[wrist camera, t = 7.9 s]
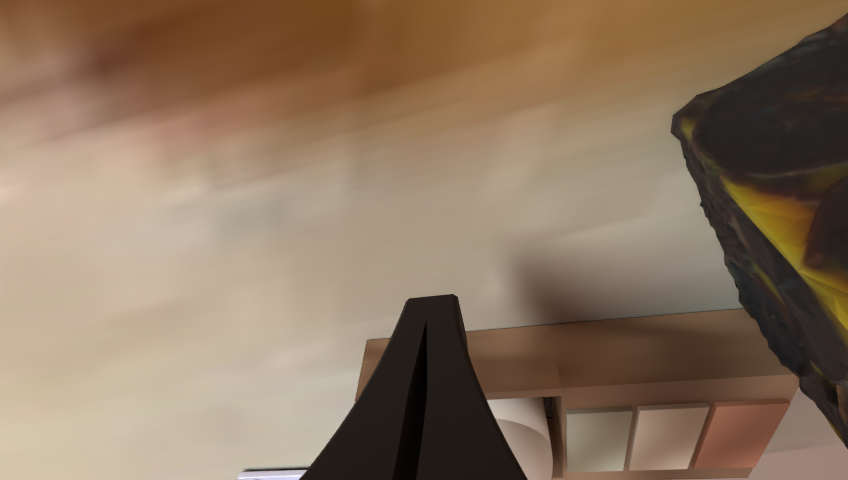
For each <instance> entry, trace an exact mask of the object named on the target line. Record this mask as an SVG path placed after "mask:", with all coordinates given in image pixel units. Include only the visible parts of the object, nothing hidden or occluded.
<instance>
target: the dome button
mask: <svg viewBox="0 0 848 480" xmlns="http://www.w3.org/2000/svg"><path fill="white" fill-rule="evenodd" d="M487 402H488V404H489V406H490V409H491V411H492V413H493V415H494V417H495V419H496V421H497V423H498V425H499V427H500V429H501V431H502V433H503V435H504V437H505V439H506V441H507V443H508V445H509V447H510V448H511V450H512V452H513V454H514V456H515V457H516V459H517V461H518V463H519V465H520V466H521V468H522V470H523V472H524V474H525V475H526V477H527V479H528V480H551V478H552V470H553V457H552V449H551V443H550V437H549V431H548V425H547V419H546V413H545V406H544V400H543V397H532V398H515V399H497V400H487Z"/></svg>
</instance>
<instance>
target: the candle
mask: <svg viewBox="0 0 848 480" xmlns="http://www.w3.org/2000/svg"><path fill="white" fill-rule="evenodd" d="M671 133H672V134H673V135H674V136H675V137H677V138H678V139H679V140H680V141H681V146H682V151H683V155H684V158H685V159H686V166H687V168H688V170H689V172H690V174H691V176H692V178H693V179H694V181H695V183H696V185H697V187H698V191H699V194H700V196H701V200H702V201H701V203H700V206H701V207H703V209H704V212H705V216H706V217H708V219H709V223H710V226H712V227H713V228H714V229H715V232H716V236H717V238H718V240H719V242H720V244H721V246H722V249H723V251H724V254H725V256H724V261H725V265H726V266H727V267H728V271H729V272H730V274H731V275H732V277H733V278H734V279H735V285H736V287H737V288H738V290H739V302H740V304H741V305H742V306H743V308H744V309H745V310H746V312H747V313H748V314H749V315H750V318H753V319H755V320H756V322H757V324H758V326H759V328H760V331H761V333H762V336H763V337H765V338H766V340H767V341H768V348H769V349H770V350H771V351H772V352H773V353H774V354H775V355H776V356H777V357H778V359H779V361H780V363H781V365H782V366H784V367H786V368H788V369H789V370H790V371H791V372H792V373H793V374H794V375H796V376H797V377H798V378H799V387H800V389H801V391H802V392H803V393H804V394H805V395H806V396H808V397H809V398H810V399H811V400H813V401H814V402H815V403H816V405H817V407H818V408H819V409H820V410H821V412H822V413H823V414H824V415H825V417H826V418H827V420H828V422H829V423H830V425H831V427H832V428H833V430H834V431H835V432H836V434H837V435H838V437H839V438H840V439H841V440H842V441H843V443H844V444H845V446H846V447H847V449H848V13H847V14H846V15H845V16H843V17H842V18H840V19H839V20H838V21H836V22H835V23H833V24H832V25H831V26H829V27H827V28H825V29H823V30H821V31H818V32H816V33H814V34H812V35H809V36H807V37H805V38H804V39H803V40H802V41H800V42H799V43H798V44H797V45H796V46H794V47H792V48H791V49H789V50H787V51H785V52H784V53H782V54H780V55H778V56H777V57H775V58H773V59H771V60H770V61H768V62H766V63H764V64H763V65H761V66H760V67H758V68H757V69H755V70H753V71H751V72H749V73H748V74H746V75H744V76H742V77H740V78H738V79H736V80H734V81H732V82H730V83H729V84H727V85H725V86H723V87H720V88H717V89H714V90H711V91H708V92H705V93H702V94H699V95H697V96H695V97H694V98H693V99H692V100H691V101H690V102H689V103H688V104H687V105H686V106H684V107H683V108H682V109H680V110H679V111H678V112H677V113H675V114H674V115H673V120H672V127H671Z"/></svg>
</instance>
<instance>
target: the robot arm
mask: <svg viewBox="0 0 848 480" xmlns="http://www.w3.org/2000/svg"><path fill="white" fill-rule="evenodd" d="M237 480H528V479H527V477H526V475H525V474H524V472H523V470H522V468H521V466H520V465H519V463H518V461H517V459H516V457H515V456H514V454H513V452H512V450H511V448H510V447H509V445H508V443H507V441H506V439H505V437H504V435H503V433H502V431H501V429H500V427H499V425H498V423H497V421H496V419H495V417H494V415H493V413H492V411H491V409H490V406H489V404H488V402H487V400H486V397H485V395H484V393H483V391H482V388H481V386H480V383H479V381H478V378H477V376H476V373H475V371H474V368H473V365H472V363H471V360H470V357H469V354H468V344H467V337H466V332H465V328H464V323H463V319H462V314H461V310H460V305H459V301H458V297H457V296H455V295H454V294H449V295H439V296H429V297H420V298H410V299H408V300H407V301H406V303H405V306H404V308H403V311H402V313H401V316H400V318H399V321H398V323H397V325H396V327H395V330H394V332H393V334H392V336H391V338H390V340H389V343H388V345H387V347H386V349H385V351H384V353H383V355H382V356H381V358H380V360H379V362H378V364H377V366H376V368H375V370H374V372H373V374H372V375H371V377H370V379H369V381H368V382H367V384H366V386H365V388H364V389H363V391H362V393H361V394H360V396H359V398H358V399H357V401H356V403H355V404H354V406H353V407H352V409H351V410H350V412H349V414H348V415H347V417H346V418H345V420H344V421H343V422H342V424H341V425H340V427H339V428H338V430H337V431H336V433H335V434H334V435H333V437H332V438H331V439H330V441H329V442H328V443H327V445H326V446H325V448H324V449H323V450H322V452H321V453H320V454H319V456H318V457H317V458H316V459H315V461H314V462H313V463H312V464H311V466H310V467H309V468H308V469H307V470H284V471H254V472H241V473H239V476H238V479H237Z"/></svg>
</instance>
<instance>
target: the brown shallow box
mask: <svg viewBox="0 0 848 480" xmlns="http://www.w3.org/2000/svg"><path fill="white" fill-rule="evenodd" d="M466 337H467V344H468V354H469V357H470V360H471V363H472V365H473V368H474V371H475V373H476V376H477V378H478V381H479V383H480V386H481V388H482V391H483V393H484V395H485V397H486V400H497V399H515V398H532V397H550V396H552V416H553V418H546V419H547V425H548V431H549V437H550V443H551V449H552V457H553V470H552V478H551V480H671V479H710V478H747V477H748V476H749V474H750V472H751V471H752V469H753V467H755V466H756V464H757V462H758V460H759V459H760V457H761V455H762V453H763V452H764V450H765V448H766V446H767V445H768V443H769V441H770V439H771V437H772V436H773V434H774V432H775V430H776V429H777V427H778V425H779V423H780V421H781V420H782V418H783V416H784V414H785V413H786V411H787V409H788V407H789V406H790V404H791V403H790V401H791V399H792V397H793V396H794V394H795V392H796V390H797V388H798V387H799V378H798V377H797V376H796V375H794V374H793V373H792V372H791V371H790V370H789V369H788V368H786V367H784V366H782V365H781V363H780V361H779V359H778V357H777V356H776V355H775V354H774V353H773V352H772V351H771V350H770V349H769V348H768V341H767V340H766V338H765V337H763V336H762V333H761V331H760V328H759V326H758V324H757V322H756V320H755V319H753V318H750V315H749V314H748V313H747V312H746V310H745V309H744V308H742V309H731V310H719V311H707V312H695V313H683V314H671V315H660V316H648V317H636V318H624V319H612V320H600V321H589V322H577V323H565V324H553V325H541V326H529V327H518V328H506V329H494V330H482V331H470V332H466ZM389 340H390V338H387V339H375V340H367V342H366V347H365V352H364V357H363V362H362V367H361V373H360V378H359V383H358V388H357V393H356V398H355V402H356V401H357V399H358V398H359V396H360V394H361V393H362V391H363V389H364V388H365V386H366V384H367V382H368V381H369V379H370V377H371V375H372V374H373V372H374V370H375V368H376V366H377V364H378V362H379V360H380V358H381V356H382V355H383V353H384V351H385V349H386V347H387V345H388V343H389Z"/></svg>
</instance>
